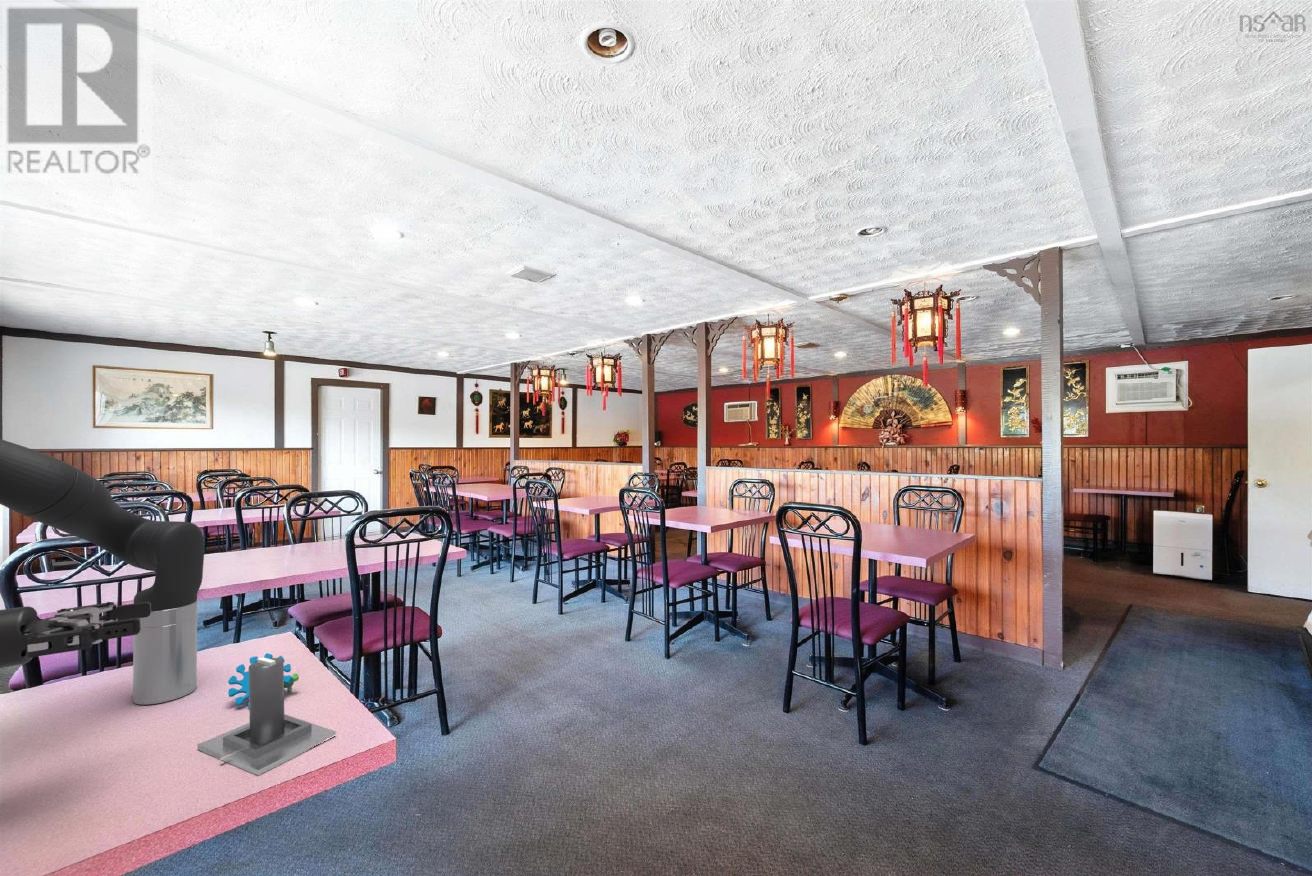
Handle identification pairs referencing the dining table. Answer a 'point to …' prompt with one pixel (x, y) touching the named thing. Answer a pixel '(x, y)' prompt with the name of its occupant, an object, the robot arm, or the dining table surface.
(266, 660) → the grey peg
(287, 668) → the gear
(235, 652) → the dining table surface
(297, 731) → the grey peg base plate
